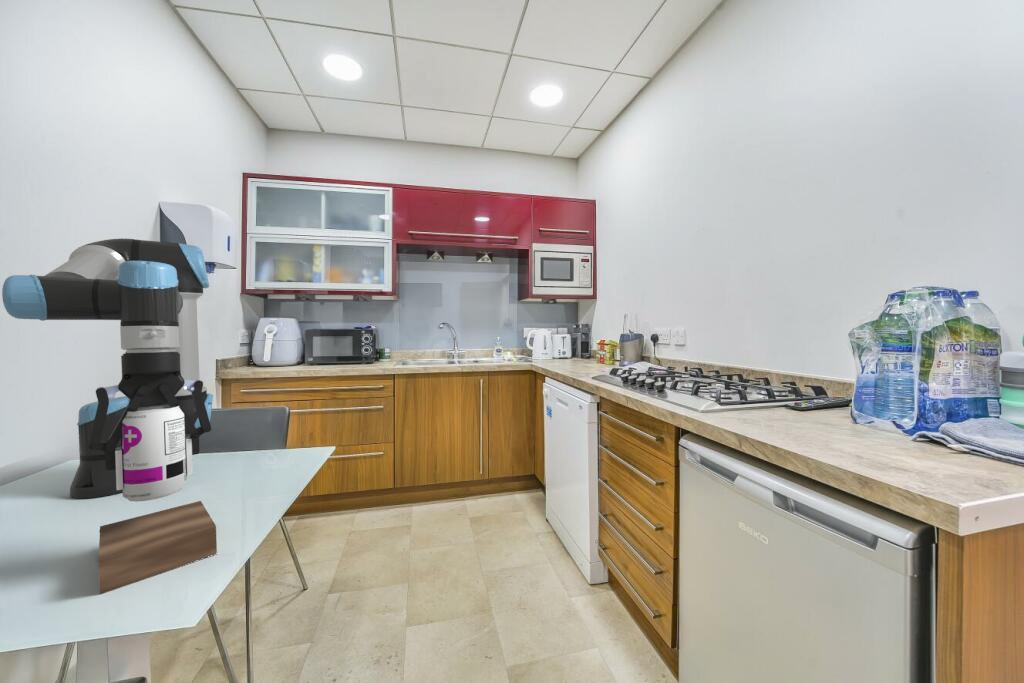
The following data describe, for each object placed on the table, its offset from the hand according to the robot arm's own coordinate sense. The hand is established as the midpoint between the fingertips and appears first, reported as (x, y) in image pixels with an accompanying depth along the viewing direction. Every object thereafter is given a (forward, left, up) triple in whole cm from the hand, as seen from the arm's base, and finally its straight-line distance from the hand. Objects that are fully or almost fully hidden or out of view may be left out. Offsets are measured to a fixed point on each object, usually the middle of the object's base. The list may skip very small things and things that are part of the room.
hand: (155, 480), depth 68 cm
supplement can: (0, 0, -2) cm, 2 cm away
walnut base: (0, 0, -13) cm, 13 cm away
